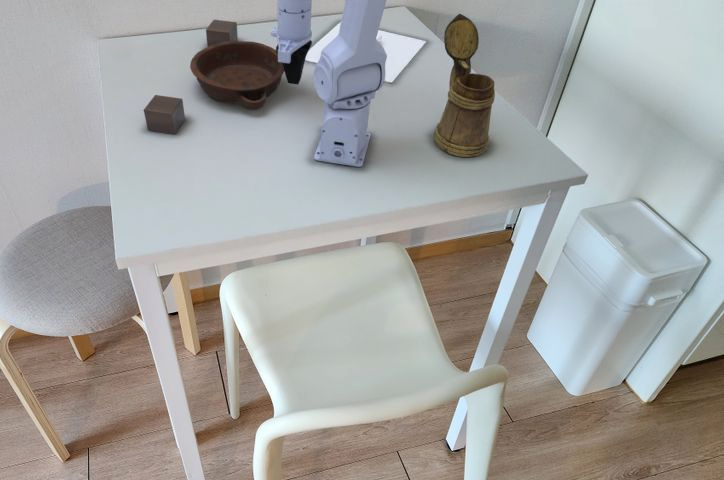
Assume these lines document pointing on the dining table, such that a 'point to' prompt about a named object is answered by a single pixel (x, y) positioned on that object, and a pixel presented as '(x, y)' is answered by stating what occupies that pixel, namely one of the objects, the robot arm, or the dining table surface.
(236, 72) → the dish
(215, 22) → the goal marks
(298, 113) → the dining table surface
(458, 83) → the wooden mug
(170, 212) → the dining table surface
